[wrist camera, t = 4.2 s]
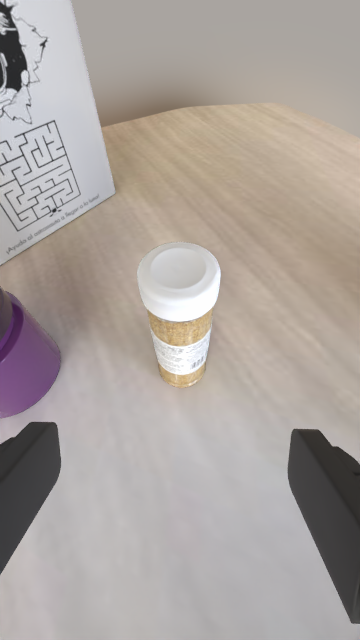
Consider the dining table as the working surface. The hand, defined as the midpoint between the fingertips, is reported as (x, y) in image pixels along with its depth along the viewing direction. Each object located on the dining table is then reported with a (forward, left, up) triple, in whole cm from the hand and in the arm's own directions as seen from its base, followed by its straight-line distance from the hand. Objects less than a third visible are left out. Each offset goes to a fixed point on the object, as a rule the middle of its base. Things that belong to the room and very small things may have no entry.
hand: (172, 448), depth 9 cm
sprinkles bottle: (-7, -6, -14) cm, 17 cm away
